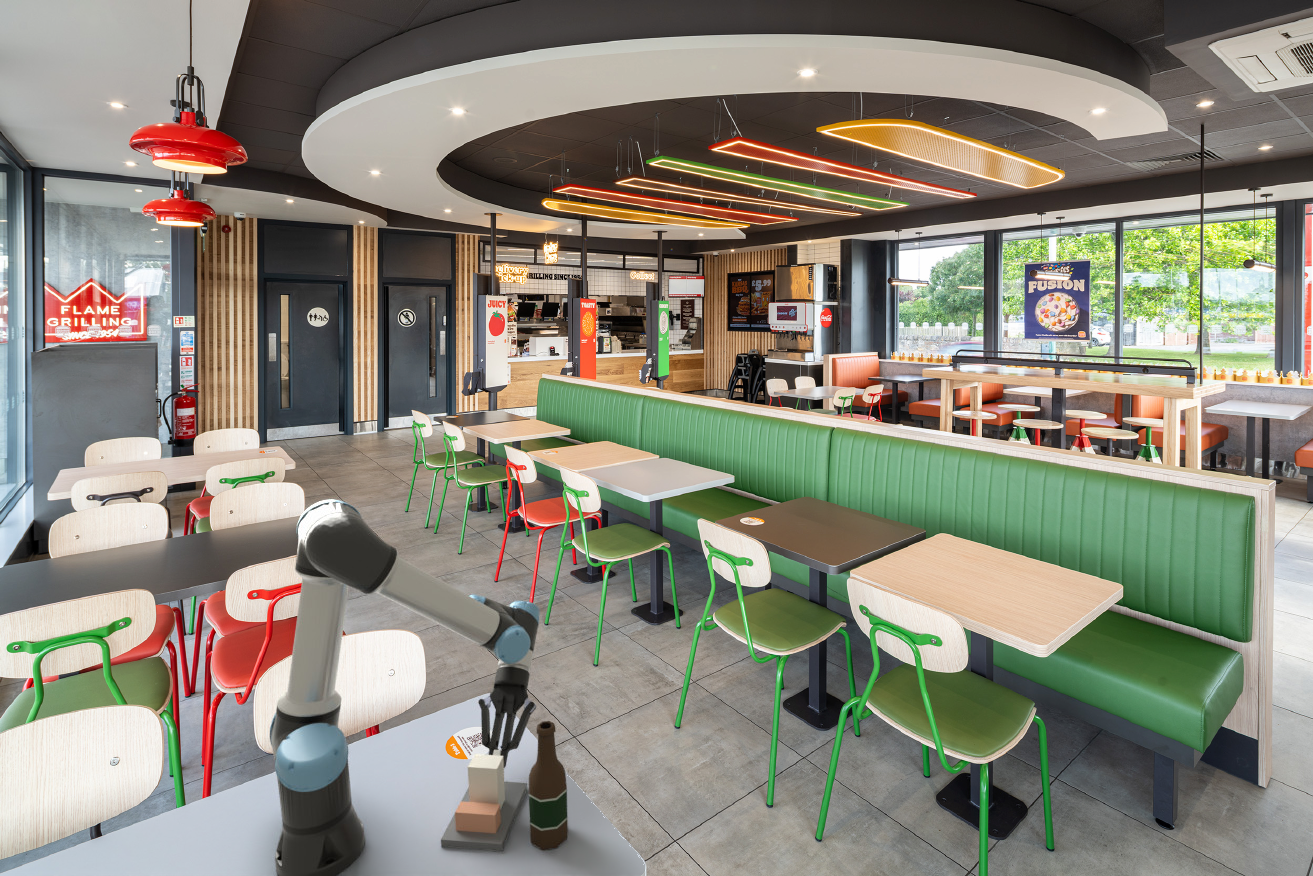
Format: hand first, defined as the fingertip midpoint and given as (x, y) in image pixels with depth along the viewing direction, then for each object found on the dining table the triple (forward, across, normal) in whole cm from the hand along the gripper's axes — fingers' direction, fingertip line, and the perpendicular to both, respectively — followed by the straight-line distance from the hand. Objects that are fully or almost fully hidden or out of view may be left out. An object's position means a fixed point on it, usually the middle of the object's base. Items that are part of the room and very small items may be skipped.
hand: (492, 784), depth 139 cm
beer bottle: (+9, -14, +3) cm, 17 cm away
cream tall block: (+4, 0, +1) cm, 4 cm away
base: (+6, 0, 0) cm, 6 cm away
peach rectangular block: (+8, 0, +4) cm, 9 cm away
